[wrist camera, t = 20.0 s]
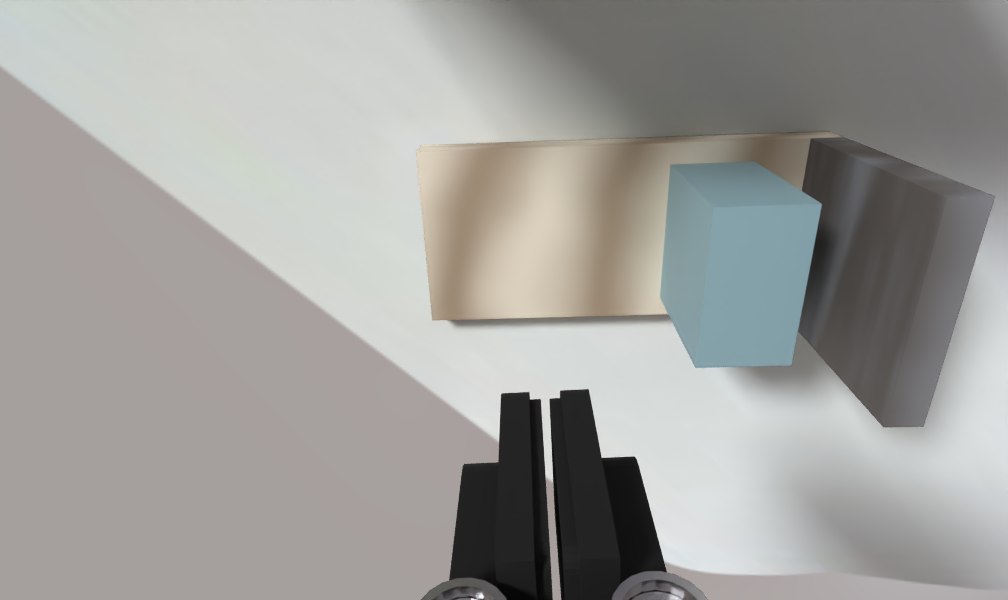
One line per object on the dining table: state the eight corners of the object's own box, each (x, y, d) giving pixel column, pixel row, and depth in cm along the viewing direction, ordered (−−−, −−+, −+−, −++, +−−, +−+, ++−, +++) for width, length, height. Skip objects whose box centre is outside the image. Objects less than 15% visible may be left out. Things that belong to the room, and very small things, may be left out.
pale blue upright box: (755, 161, 29) (821, 204, 23) (736, 295, 32) (791, 365, 26) (670, 164, 29) (713, 207, 23) (659, 297, 32) (695, 367, 26)
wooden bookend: (828, 131, 30) (995, 196, 20) (797, 298, 34) (923, 426, 24) (420, 145, 31) (372, 215, 20) (435, 308, 34) (402, 437, 24)
